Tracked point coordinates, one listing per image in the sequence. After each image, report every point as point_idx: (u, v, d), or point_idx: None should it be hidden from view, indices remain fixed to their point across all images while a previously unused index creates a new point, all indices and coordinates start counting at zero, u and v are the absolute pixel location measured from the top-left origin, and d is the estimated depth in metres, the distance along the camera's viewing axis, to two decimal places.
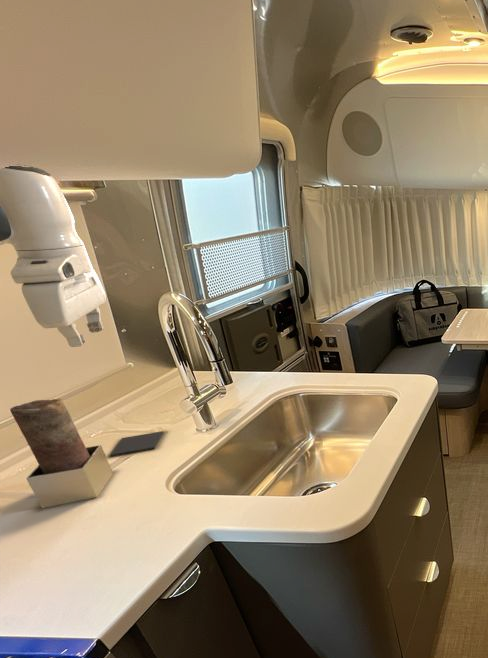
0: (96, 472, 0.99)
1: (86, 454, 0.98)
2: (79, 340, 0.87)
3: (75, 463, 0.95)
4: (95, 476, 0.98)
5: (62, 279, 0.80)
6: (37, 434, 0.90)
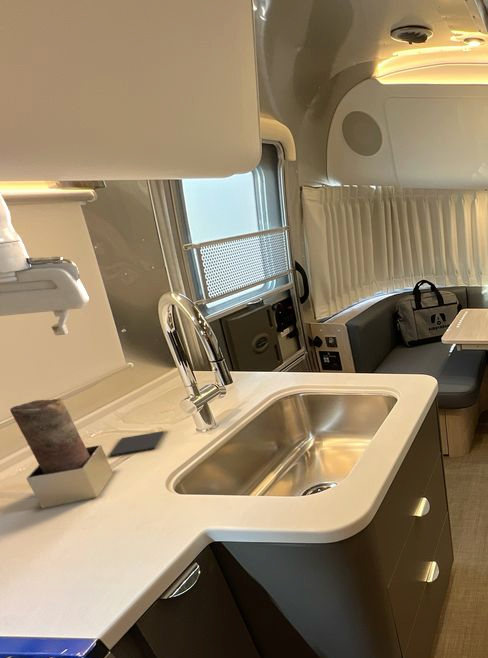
0: (96, 472, 0.99)
1: (86, 454, 0.98)
2: None
3: (75, 463, 0.95)
4: (95, 476, 0.98)
5: None
6: (37, 434, 0.90)
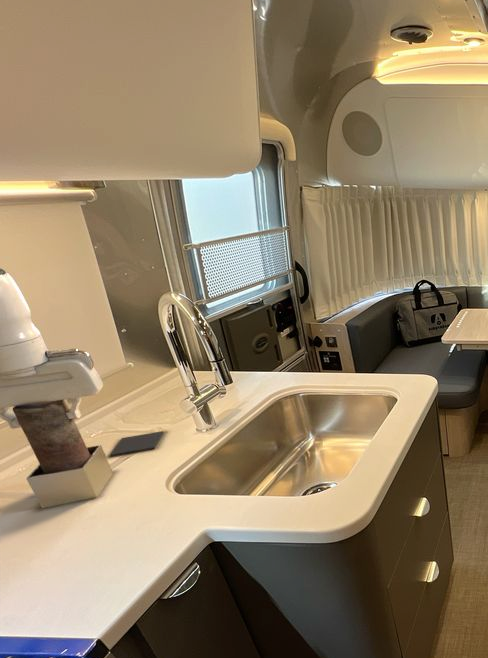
0: (96, 472, 0.99)
1: (87, 454, 0.98)
2: (9, 424, 0.90)
3: (76, 462, 0.95)
4: (95, 476, 0.98)
5: None
6: (39, 434, 0.91)
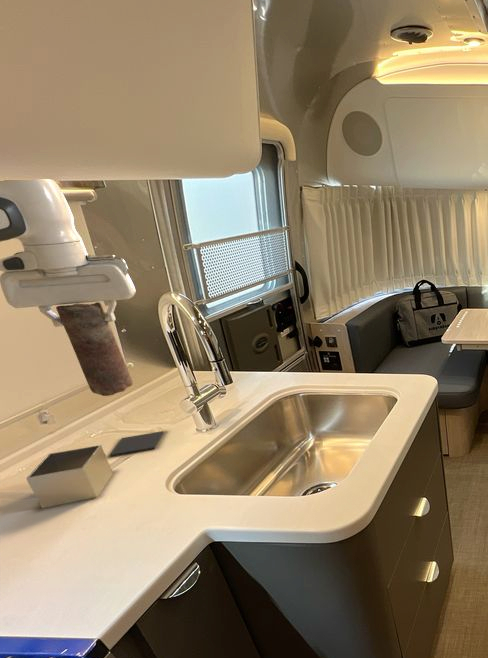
0: (96, 472, 0.99)
1: (120, 356, 1.07)
2: None
3: (111, 362, 1.05)
4: (95, 476, 0.98)
5: (0, 270, 0.92)
6: (79, 331, 1.00)
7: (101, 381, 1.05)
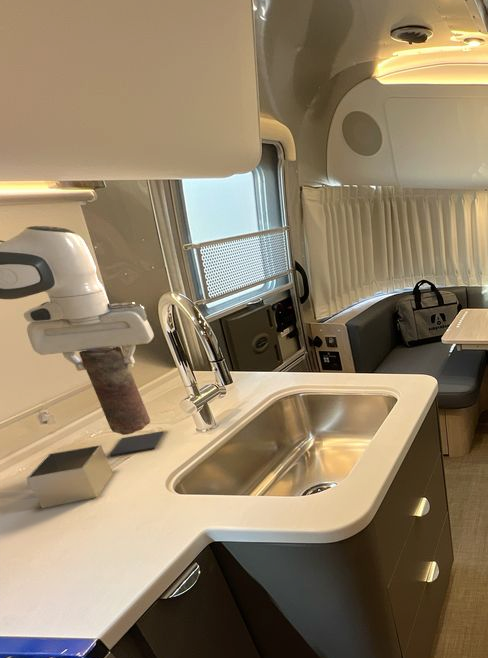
0: (96, 472, 0.99)
1: (139, 396, 1.12)
2: None
3: (131, 402, 1.10)
4: (95, 476, 0.98)
5: (28, 321, 0.97)
6: (101, 375, 1.05)
7: (121, 421, 1.10)
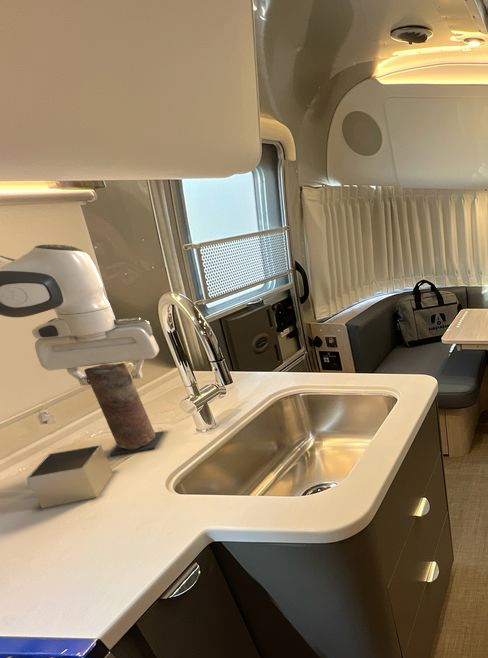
0: (96, 472, 0.99)
1: (144, 411, 1.14)
2: (79, 381, 1.06)
3: (136, 418, 1.12)
4: (95, 476, 0.98)
5: (36, 337, 0.99)
6: (106, 392, 1.07)
7: (126, 436, 1.11)
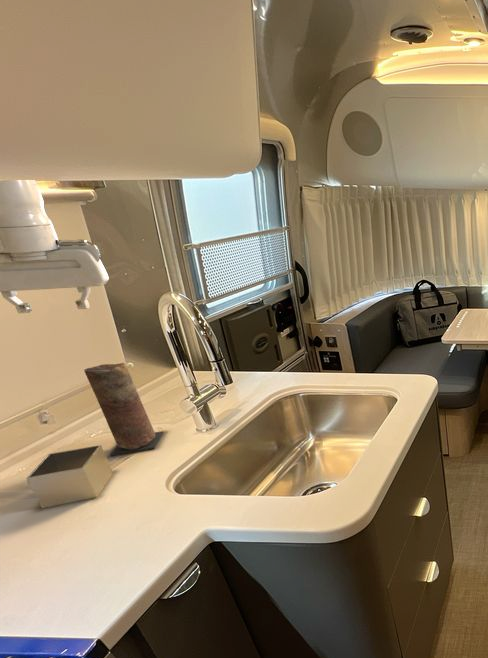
0: (96, 472, 0.99)
1: (144, 411, 1.14)
2: (16, 308, 0.96)
3: (136, 418, 1.12)
4: (95, 476, 0.98)
5: None
6: (106, 392, 1.07)
7: (126, 436, 1.11)
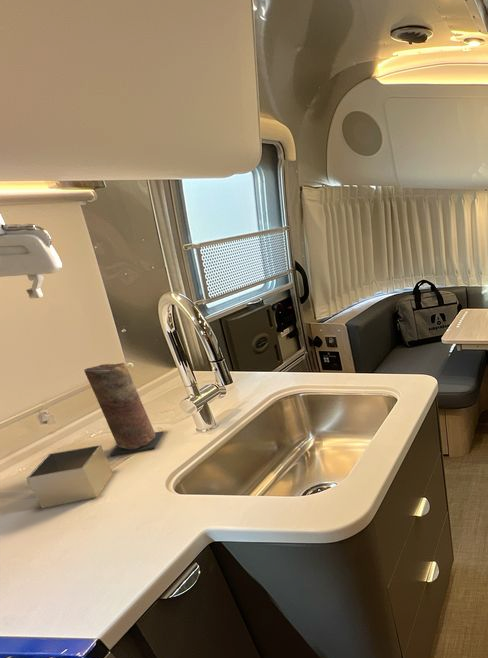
0: (96, 472, 0.99)
1: (144, 411, 1.14)
2: None
3: (136, 418, 1.12)
4: (95, 476, 0.98)
5: None
6: (106, 392, 1.07)
7: (126, 436, 1.11)
